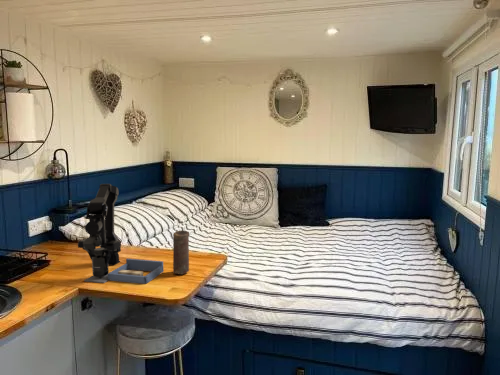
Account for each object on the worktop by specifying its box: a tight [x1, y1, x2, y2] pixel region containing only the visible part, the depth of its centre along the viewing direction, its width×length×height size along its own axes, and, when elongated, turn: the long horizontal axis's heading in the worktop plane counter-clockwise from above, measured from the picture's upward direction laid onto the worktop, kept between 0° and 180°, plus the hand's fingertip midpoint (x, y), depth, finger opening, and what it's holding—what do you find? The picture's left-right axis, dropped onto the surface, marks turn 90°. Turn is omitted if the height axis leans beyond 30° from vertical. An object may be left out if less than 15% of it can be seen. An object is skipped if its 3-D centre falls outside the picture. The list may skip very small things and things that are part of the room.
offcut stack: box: [118, 269, 144, 276], centre depth 172 cm, size 13×3×4 cm, turn 77°
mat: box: [83, 274, 110, 284], centre depth 174 cm, size 10×10×1 cm
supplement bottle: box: [91, 247, 110, 277], centre depth 173 cm, size 7×7×12 cm
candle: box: [172, 230, 190, 275], centre depth 179 cm, size 8×7×20 cm
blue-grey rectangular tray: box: [108, 258, 164, 285], centre depth 177 cm, size 19×16×5 cm
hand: (100, 262), depth 173 cm, fingers closed on supplement bottle, 7 cm apart
